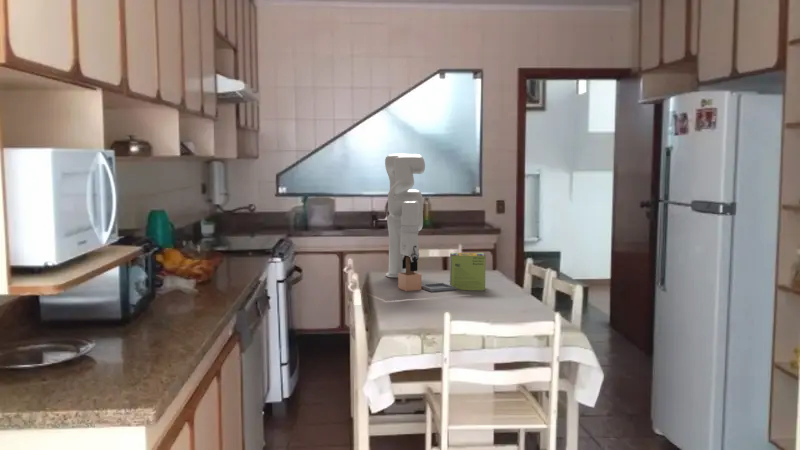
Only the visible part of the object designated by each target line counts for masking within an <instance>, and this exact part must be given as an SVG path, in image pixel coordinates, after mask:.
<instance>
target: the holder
mask: <svg viewBox="0 0 800 450" xmlns="http://www.w3.org/2000/svg"><path fill="white" fill-rule="evenodd" d="M397 283H398V285H397V286H398V287H397V288H398V289H400V290H402V291H405V292H408V291H409V292H410V291H422V289H421V284H422V273H418V272H417V271H414V275H406V272H405V273H398V278H397Z"/></svg>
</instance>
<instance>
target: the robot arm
mask: <svg viewBox="0 0 800 450" xmlns="http://www.w3.org/2000/svg"><path fill="white" fill-rule="evenodd" d="M384 164H385V166H384V167H385V171H386V173H387V175H388V180H389V191H388V194H387V207H388V213H389V214H388V216H387V217H386V221H387V223H386V224H387V231H388V272H386V273H385V277H388V278H392V279H393V278H395V279H398V273H405V272H406V257H410V258H411V262H410V271H414V272H417V271H418V263H419V257H420V251H419V250H420V245H419V241H420V240H419V233H420V231H421V230H422V229H423V227H424V210H423V209H424V207H423V205H424V204H423V203H424V199H423V194H422V192H421V190H419V189H412V188H413V187H414V186H415V179H414V175H417V174H418V175H421V174H423V173H424V172H425V170H426V162H425V159H424V157H423V156H422V155H421V154H419V153H418V154H417V153H391V154H389V155H387V156H386V157H385V160H384ZM413 257H414V258H413Z"/></svg>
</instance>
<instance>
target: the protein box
mask: <svg viewBox="0 0 800 450" xmlns="http://www.w3.org/2000/svg"><path fill="white" fill-rule="evenodd" d="M449 253H450V254H449V255H450V257H449V258H450V259H449V261H450V262H449V285H452V286H455V287H456V290H462V291H486V267H487V266H486V264H487V263H486V259H487V257H486V256H487V255H486V254H485V253H484V252H449Z"/></svg>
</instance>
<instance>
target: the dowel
mask: <svg viewBox="0 0 800 450" xmlns="http://www.w3.org/2000/svg"><path fill="white" fill-rule="evenodd" d="M413 258H414V257H413ZM410 262H411V258H410V256H409V257H406V275H414V272H415V271H410Z"/></svg>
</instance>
